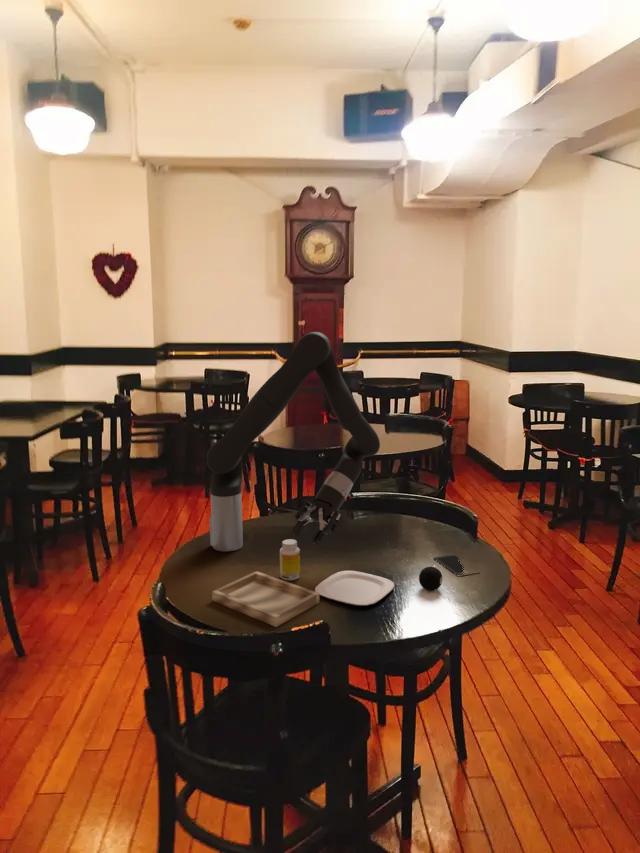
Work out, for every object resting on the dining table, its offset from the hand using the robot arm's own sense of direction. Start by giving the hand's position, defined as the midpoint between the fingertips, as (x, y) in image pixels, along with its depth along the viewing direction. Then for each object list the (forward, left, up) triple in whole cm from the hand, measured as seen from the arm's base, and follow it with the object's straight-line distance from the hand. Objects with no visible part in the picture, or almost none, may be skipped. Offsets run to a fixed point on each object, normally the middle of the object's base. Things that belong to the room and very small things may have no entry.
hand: (304, 539), depth 187 cm
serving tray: (+4, -20, -10) cm, 23 cm away
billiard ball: (+33, +12, -10) cm, 37 cm away
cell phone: (+31, +30, -10) cm, 44 cm away
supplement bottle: (-1, -5, -10) cm, 11 cm away
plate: (+18, -1, -10) cm, 21 cm away
